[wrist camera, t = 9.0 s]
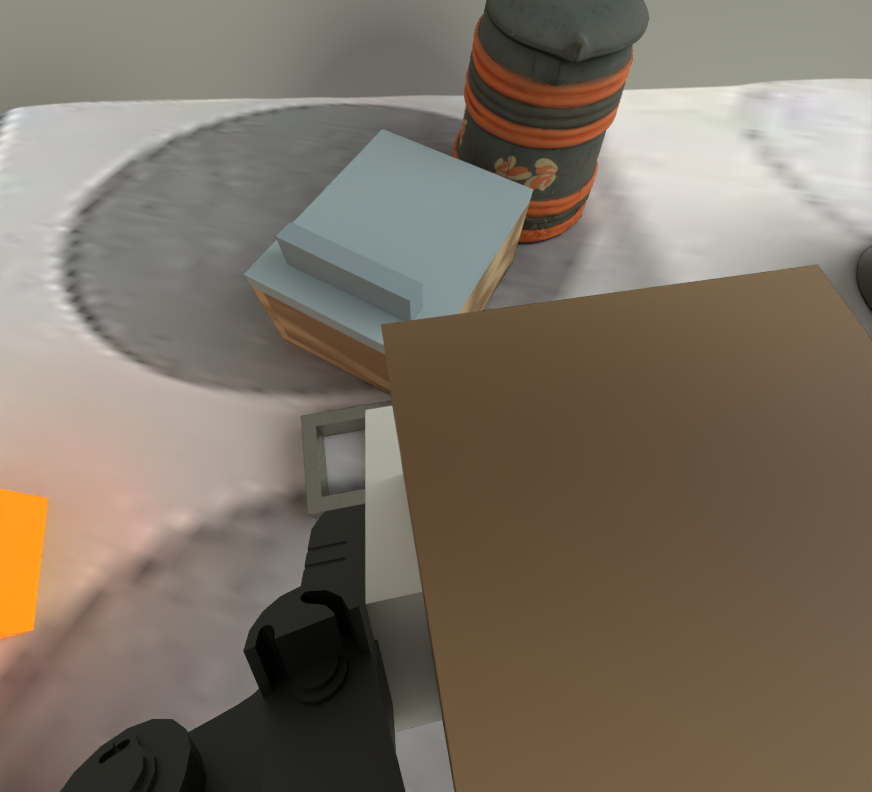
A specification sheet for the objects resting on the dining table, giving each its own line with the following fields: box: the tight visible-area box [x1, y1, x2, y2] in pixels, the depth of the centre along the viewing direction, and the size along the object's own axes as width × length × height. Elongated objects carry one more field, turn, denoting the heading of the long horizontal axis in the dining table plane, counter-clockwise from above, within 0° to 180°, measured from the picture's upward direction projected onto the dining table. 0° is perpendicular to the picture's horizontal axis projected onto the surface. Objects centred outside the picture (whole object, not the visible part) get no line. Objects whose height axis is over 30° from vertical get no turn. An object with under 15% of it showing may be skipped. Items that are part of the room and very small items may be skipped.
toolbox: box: [252, 204, 529, 395], centre depth 34 cm, size 18×14×7 cm
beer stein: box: [452, 0, 649, 243], centre depth 35 cm, size 19×15×20 cm
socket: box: [301, 401, 399, 519], centre depth 30 cm, size 7×7×2 cm
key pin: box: [381, 265, 872, 792], centre depth 10 cm, size 4×4×17 cm
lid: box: [244, 129, 533, 354], centre depth 29 cm, size 18×14×4 cm
